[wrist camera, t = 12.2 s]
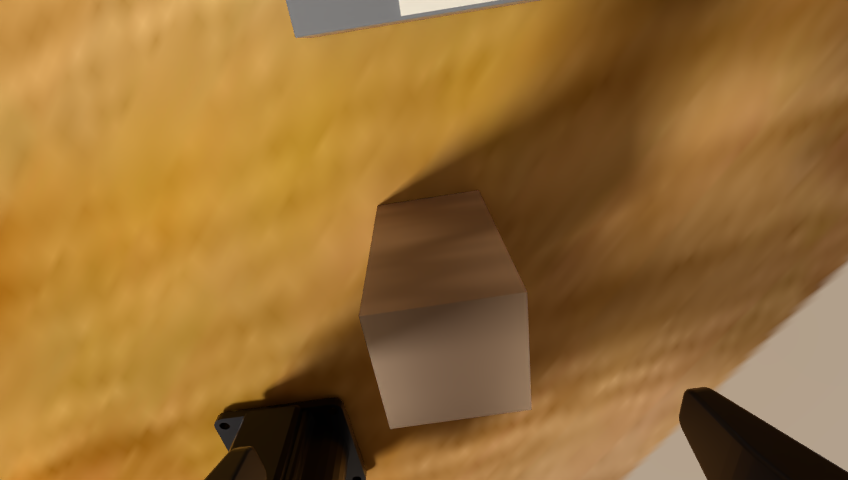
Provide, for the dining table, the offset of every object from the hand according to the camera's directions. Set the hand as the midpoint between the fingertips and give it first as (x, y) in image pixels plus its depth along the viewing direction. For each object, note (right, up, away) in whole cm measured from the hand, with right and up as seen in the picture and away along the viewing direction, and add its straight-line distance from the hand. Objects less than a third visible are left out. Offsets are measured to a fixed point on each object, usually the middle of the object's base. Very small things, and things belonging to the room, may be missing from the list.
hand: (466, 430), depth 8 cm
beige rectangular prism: (0, +4, +8) cm, 9 cm away
